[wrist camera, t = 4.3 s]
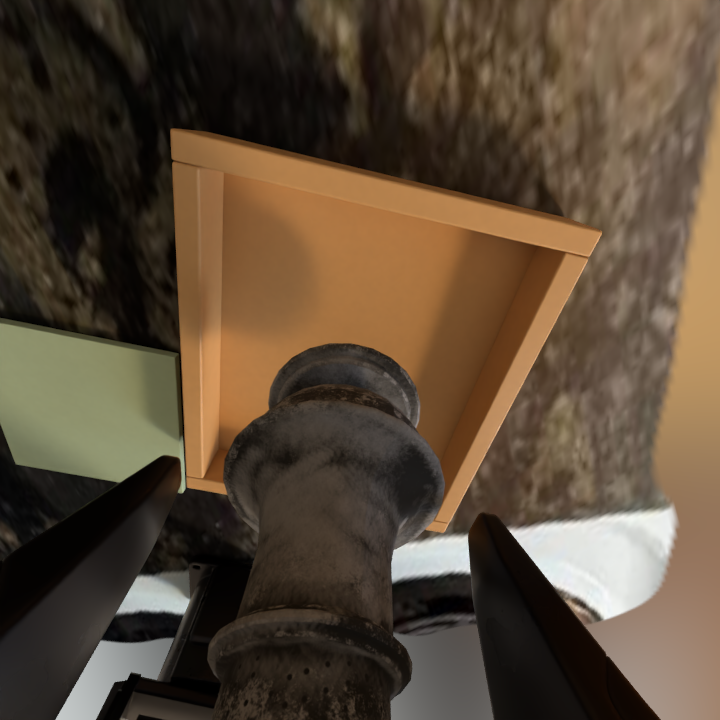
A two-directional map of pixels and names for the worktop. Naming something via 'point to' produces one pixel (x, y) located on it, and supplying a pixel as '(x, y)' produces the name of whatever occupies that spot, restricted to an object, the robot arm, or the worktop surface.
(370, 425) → the stone finial
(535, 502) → the worktop surface
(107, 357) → the mat
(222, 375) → the tray
